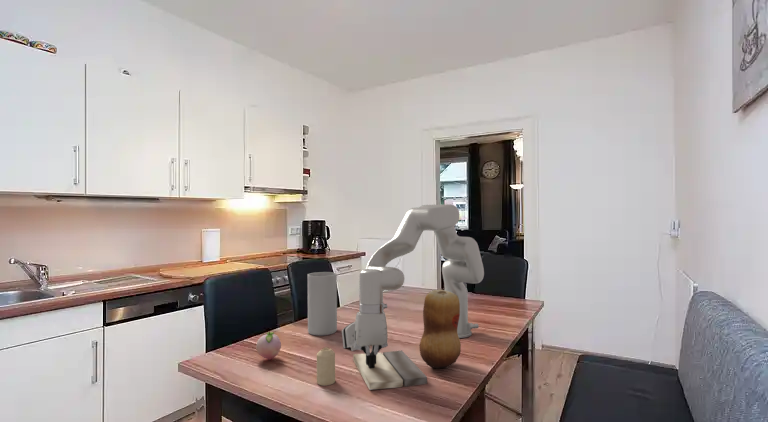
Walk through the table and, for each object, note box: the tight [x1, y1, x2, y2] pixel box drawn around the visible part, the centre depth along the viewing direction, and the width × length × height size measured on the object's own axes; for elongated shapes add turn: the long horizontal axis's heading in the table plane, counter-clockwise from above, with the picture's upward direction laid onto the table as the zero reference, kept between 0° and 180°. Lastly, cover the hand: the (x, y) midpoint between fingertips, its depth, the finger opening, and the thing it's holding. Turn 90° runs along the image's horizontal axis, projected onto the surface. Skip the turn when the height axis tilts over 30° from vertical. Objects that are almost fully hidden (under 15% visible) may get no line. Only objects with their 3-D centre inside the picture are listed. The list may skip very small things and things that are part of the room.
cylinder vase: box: [307, 271, 338, 337], centre depth 170 cm, size 12×12×25 cm
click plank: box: [352, 352, 404, 391], centre depth 124 cm, size 10×24×2 cm, turn 16°
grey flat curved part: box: [341, 321, 357, 352], centre depth 153 cm, size 17×5×10 cm, turn 135°
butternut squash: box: [418, 289, 462, 369], centre depth 129 cm, size 14×13×25 cm
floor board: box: [382, 349, 428, 387], centre depth 127 cm, size 7×24×2 cm, turn 16°
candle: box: [316, 346, 336, 387], centre depth 118 cm, size 6×6×10 cm
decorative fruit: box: [255, 330, 282, 361], centre depth 137 cm, size 9×8×10 cm
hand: (371, 366), depth 124 cm, fingers closed
